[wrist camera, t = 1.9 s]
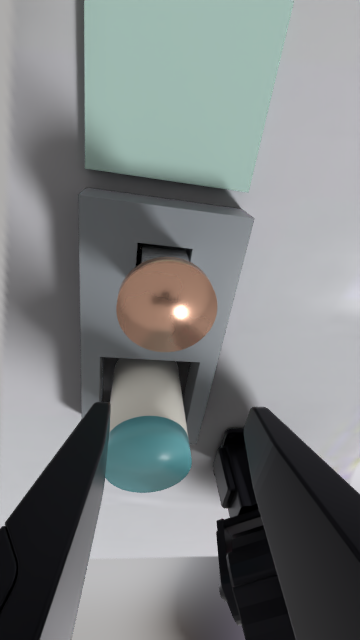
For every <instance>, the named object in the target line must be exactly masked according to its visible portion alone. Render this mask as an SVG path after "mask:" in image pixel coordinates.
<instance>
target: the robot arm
mask: <svg viewBox="0 0 360 640" xmlns="http://www.w3.org/2000/svg"><path fill="white" fill-rule="evenodd" d="M110 414H111V404H110V403H109V402H95V403H94V404H93V405H92V406H91V408H90V409H89V410H88V412H87V413H86V414H85V416H84V417H83V418H82V420H81V421H80V422H79V424H78V425H77V426H76V428H75V429H74V431H73V432H72V433H71V435H70V436H69V437H68V439H67V440H66V441H65V443H64V444H63V445H62V447H61V448H60V449H59V451H58V452H57V453H56V455H55V456H54V457H53V459H52V460H51V461H50V463H49V464H48V465H47V467H46V468H45V470H44V471H43V472H42V474H41V475H40V476H39V478H38V479H37V480H36V482H35V483H34V484H33V486H32V487H31V488H30V490H29V491H28V492H27V494H26V495H25V496H24V498H23V499H22V500H21V502H20V503H19V504H18V506H17V507H16V509H15V510H14V511H13V513H12V514H11V515H10V517H9V518H8V519H7V521H6V522H5V526H2V527H1V528H0V640H71V638H72V634H73V629H74V625H75V621H76V616H77V611H78V606H79V602H80V597H81V593H82V588H83V584H84V579H85V574H86V570H87V565H88V561H89V556H90V551H91V547H92V542H93V538H94V533H95V528H96V524H97V519H98V514H99V510H100V505H101V501H102V495H103V489H104V482H105V472H106V462H107V452H108V442H109V431H110ZM213 468H214V470H213V471H214V475H215V477H216V482H217V487H218V492H219V496H220V501H221V505H222V507H223V508H228V511H229V516H230V518H228V519H225V520H224V519H220V520H217V530H218V531H217V532H216V535H217V546H218V557H219V568H220V580H219V590H220V595H221V598H222V599H224V600H225V601H226V602H227V603H228V605H229V608H230V611H231V613H232V616H233V618H234V620H235V622H236V623H237V625H242V628H243V632H244V635H245V639H246V640H360V494H359V493H358V492H357V491H356V490H355V489H354V488H353V487H351V486H350V485H349V484H348V483H347V482H346V481H345V480H344V479H343V478H342V477H341V476H340V475H339V474H337V473H336V472H335V471H334V470H333V469H332V468H331V467H330V466H329V465H328V464H327V463H326V462H325V461H324V460H322V459H321V458H320V457H319V456H318V455H317V454H316V453H315V452H314V451H313V450H312V449H311V448H310V447H309V446H307V445H306V444H305V443H304V442H303V441H302V440H301V439H300V438H299V437H298V436H297V435H296V434H295V433H294V432H292V431H291V430H290V429H289V428H288V427H287V426H286V425H285V424H284V423H283V422H282V421H281V420H280V419H278V418H277V417H276V416H275V415H274V414H273V413H272V412H271V411H270V410H269V409H268V408H266V407H252V408H251V409H250V412H249V414H248V417H247V420H246V423H245V426H244V429H228V430H227V431H226V432H225V435H224V438H223V441H222V444H221V447H220V448H219V449H218V451H217V454H216V458H215V461H214V464H213Z"/></svg>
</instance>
